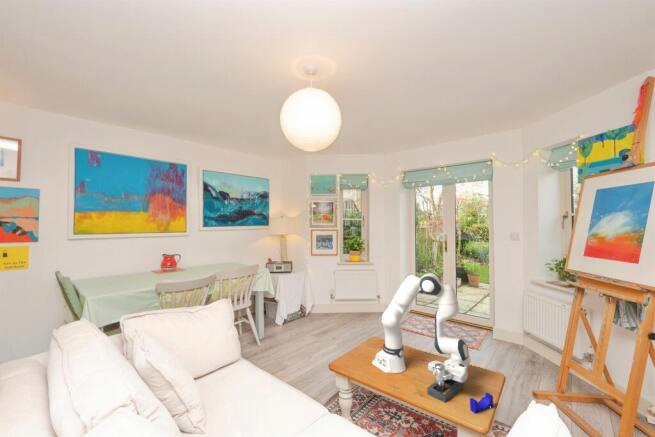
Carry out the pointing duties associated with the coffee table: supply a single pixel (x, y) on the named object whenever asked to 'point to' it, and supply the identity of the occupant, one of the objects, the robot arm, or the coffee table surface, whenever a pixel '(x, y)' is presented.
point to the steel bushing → (440, 377)
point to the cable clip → (481, 403)
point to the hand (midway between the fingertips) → (439, 376)
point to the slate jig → (449, 390)
